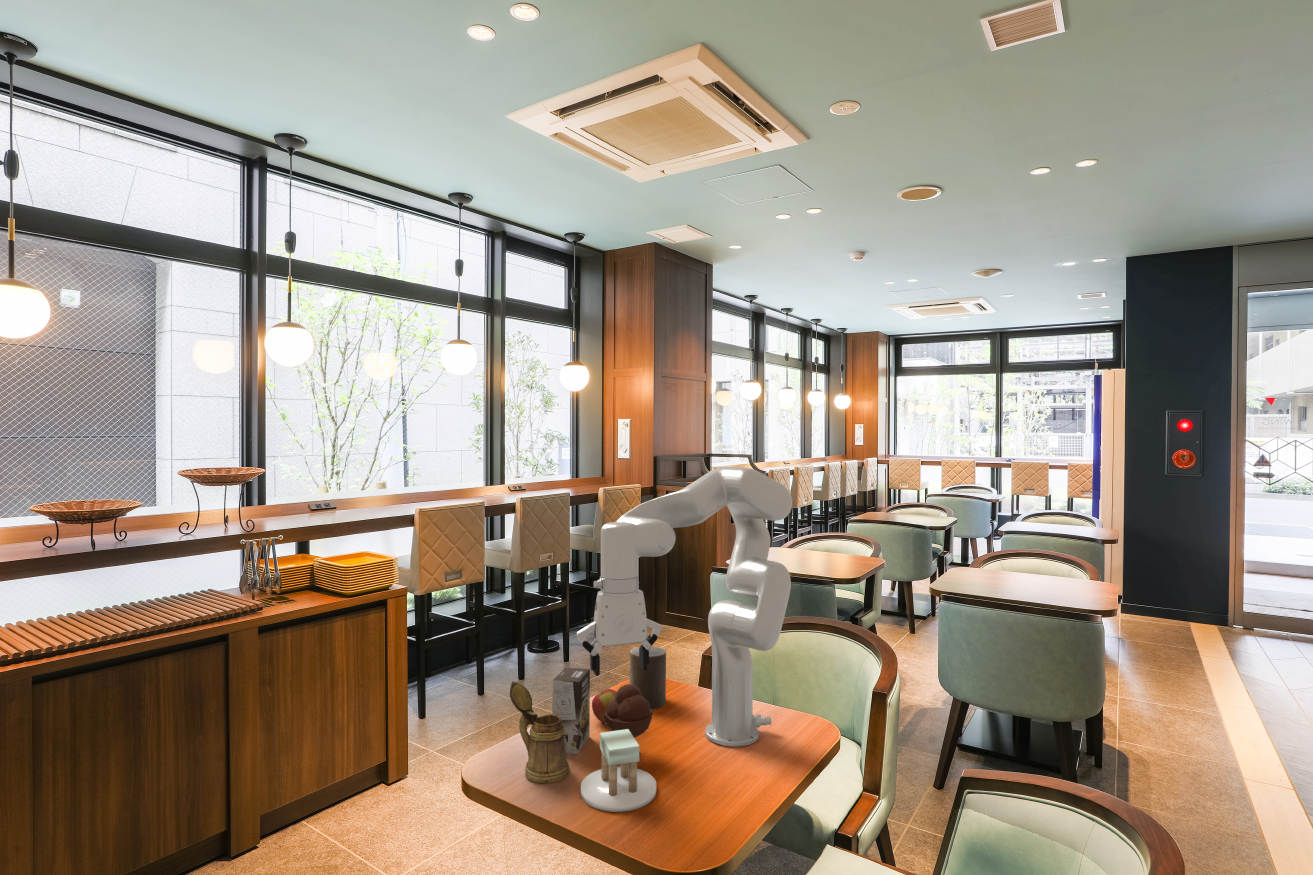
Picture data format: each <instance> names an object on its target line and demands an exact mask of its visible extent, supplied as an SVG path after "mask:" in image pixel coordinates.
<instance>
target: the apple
mask: <svg viewBox="0 0 1313 875" xmlns="http://www.w3.org/2000/svg"><path fill="white" fill-rule="evenodd" d="M599 692H600V693H597V694H596V695H595V696H593V698H592V701H591V709H592V712H593V715H594V716H595V718H596V719H597V720H598V721H599V722H600V723H603V724H606V722H605V719H604V712H605V710H606V708H608V705H609V704H610V702H611V701H612V700H614V699H615V695H616V692H617V691H616V690H615V689H612V688H611V689H610V688H608V689H604V690H602V691H599Z"/></svg>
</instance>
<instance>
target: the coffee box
mask: <svg viewBox="0 0 1313 875" xmlns="http://www.w3.org/2000/svg"><path fill="white" fill-rule="evenodd" d="M590 692H591V669H590V668H582V667H581V668H579V667H577V668H576V667H565V668H563V669H562V670H561V671H560V673H558V674H557V675H556V677H554V678H553V679H552V712H551V714H553V715H558V716H560V717H561V718H562V723H563V725H564V729H565V733H564V740H565V748H566V754H571V755H572V754H573V755H578V754H579V753H580V751H581V750H582V749H583V747H584V746H585V744H586V743H587V741H588V740H589V739H590V738H591V737H590V735H591V733H590V732H591V731H590V728H591V725H590V724H591V723H590V722H591V721H590V720H591V719H590V715H591V712H590V711H591V710H590V709H591V703H590V702H591V698H590V697H591V694H590Z"/></svg>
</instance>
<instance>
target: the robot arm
mask: <svg viewBox="0 0 1313 875" xmlns="http://www.w3.org/2000/svg"><path fill="white" fill-rule="evenodd" d="M724 507H727V509H728V511H729V513H730V515H731V518H732V521H733V523H734V526H735V540H734V545H733V548H732V552H731V557H730V559H729V563H728V567H727V571H726V575H725V586H726V589H727V591H729V593H732V595H735V596H739V597H742V598H747V599H752V600H756V601H757V605H754V604H750V603H747V602H743V601H738V600H733V599H725V600H719V601H717V602H716V603H715V604H713V606H712V607H711V608H710V610H709V613H708V618H707V622H708V623H707V625H708V631H709V637H710V642H711V644H710V645H711V654H712V656H711V658H712V661H711V663H712V667H711V691H712V692H711V722H710V723H709V724H708V725H706V727H705V729H704V730H705V737H706V738H707V739H708V740H709V741H711V742H713V743H714V744H717V745H721V746H724V747H734V748H735V747H739V748H740V747H746V746H749V745H752V744H754V743H756V742H758V740H759V738H760V730H759V729H758V728H760V727H761V726H771V725H772V718H771V716H770V715H766V716H762V714H761V713H757V714H753V705H754V704H753V700H754V699H753V694H754V693H753V686H754V685H753V684H754V683H753V682H754V681H753V678H754V675H753V670H754V668H753V667H754V664H753V657H752V653H751V651H750V649H753V650H756V651H761V652H768V651H769V650H771V649H773V648H774V647H775V646H776V644H777V643H778V641H779V638H780V635H781V632H782V628H783V624H784V619H785V617H786V616H785V615H786V610H787V607H788V602H789V600H790V594H791V589H792V588H791V587H792V584H791V583H792V581H791V580H792V579H791V574H790V571H789V570H788V568H787V567H786V566H785V565H784V564H783V563H780V562H778V561H774V560H768V557H769V552H770V548H771V535H770V532H769V529H768V526H767V525H766V522H765V521H774V522H775V521H777V522H778V521H782V520H784V519H785V518H786V517H788V516H789V515H790V513H791V510H792V507H793V498H792V494H791V492H790V490H788V488H787V487H786V486H785V485H783V484H781V482H778V481H777V480H775V479H773V478H771V477H769V476H767V475H766V474H764V473H762V472H760V471H758V470H756V469H754V468H750V467H734V466H732V467H731V466H721V467H717V468H716V467H715V468H714V469H711V470H710V471H708V472H706V473H705V474H703V475H702V476H701V477H699V478H698V479H696V480H695V481H693V482H692V483H689V484H688V485H686V486H685V487H684V488H681V489H679V490H677V491H675V492H670V493H667V494H665V495H662V496H659V497H655V498H653V499H650V500H647V501H645V502H642V503H640V504H638V505H637V506H635V507H633V508H632V509H630V510H628V511H627V512H625V513H623V515H621V516H620V517H619V518H618V519H617V520H616V521H614V522H613V521H611V522H607V523H605V524H603V525H602V527H601V529H600V575H599V579H597V580H594V581H593V588H597V589H600V590H599V591H597V594H596V600H595V605H594V613H593V615H594V616H593V622H591V623H589V624H587V625H586V626H584V627H583V628H581V629H580V630H578V631H576V636H577V638H578V641H579V642H580V644H581V645H582V647H583V648H584V649H585V650H586V651H587V652H588V653H589V656H590V657H589V660H590V661H589V667H590V668H589V669H590V672H591V671H592V673H593V674H594V675H595V676H596V677H599V676H600V675H601V664H600V663H601V656H600V655H599V652H600V651H601V649H602V648H603V647H616V646H624V645H625V646H626V645H634V644H641V645H640V646H638V647H639V666H640V667H641V668H642V669H643V670H647V664H649V650H650V649H651V646H653V645H654V644H655V642H657V640H659V639H658V637H659V635H660V634H661V631H662V629H663V626H662V625H661V624H660V623H658V622H656V621H654V620H652V619H649V618H647V611H646V601H645V596H644V595H645V594H644V591H643V590H641V589H639V588H640V585H639V584H640V581H639V574H640V573H639V570H640V569H639V565H640V564H639V562H640V561H639V558H641V557H643V558H644V557H662V556H664V555H667V554H668V553H669V552H670V551H671V550H672V549H673V548H674V545H675V543H676V532H675V530H674V529H675V528H685V527H691V526H696V525H699V524H701V523H704V522H705V521H706V520H708V518H709V519H710V517H712V516H713V515H714V514H716V513H717V512H718V511H720V510H721V509H723V508H724ZM764 520H765V521H764ZM648 627H649V628H651V629H652V630H651V632H650V634H648ZM591 633H593V637H594V639H593V641H592V642H591V643H590V642H589V641H588V640H587V638H586V637H587V636H588V635H590V634H591Z"/></svg>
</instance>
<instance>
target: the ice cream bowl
mask: <svg viewBox="0 0 1313 875" xmlns="http://www.w3.org/2000/svg"><path fill="white" fill-rule="evenodd" d="M653 714H654V709H651V708H650V704H649V702H648V701H647V700H646V699H645V698H644V697H643V696H642V694H641V691H640V690H639V688H638V687H636V686H635V685H631V684H630V683H628V684H624V685H622V686H620V687H619V688H618V689H617V691H616V695H615V699H614V700H612V701H611V702H610V704H609V705H608V708H606V710H605V712H604V719H605V722H606V723H605V724H606V727H607V728H608V729H609V730H610V731H617V730H625V729H629V731H630V733H631V734H632V736H633V737H634V739H635V738H637V737H639V736H641V735H642V734H644V733H645V732H646V731H647V730H648V729H649V727H650V724H651V723H652V719H653ZM641 755H642V754H641V751H640V750H639V759H640V758H641Z"/></svg>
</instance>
